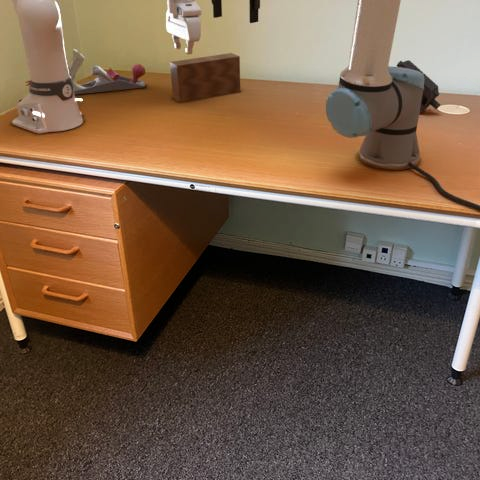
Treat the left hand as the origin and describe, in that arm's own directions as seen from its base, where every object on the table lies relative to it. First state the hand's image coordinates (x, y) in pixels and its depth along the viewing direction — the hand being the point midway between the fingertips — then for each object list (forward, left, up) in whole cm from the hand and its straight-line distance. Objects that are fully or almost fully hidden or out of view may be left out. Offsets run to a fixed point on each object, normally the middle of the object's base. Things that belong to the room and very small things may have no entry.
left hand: (183, 51), depth 178 cm
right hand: (+29, -17, +14) cm, 37 cm away
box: (+4, +7, -16) cm, 18 cm away
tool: (+72, +20, -16) cm, 76 cm away
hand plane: (-34, -3, -16) cm, 38 cm away
